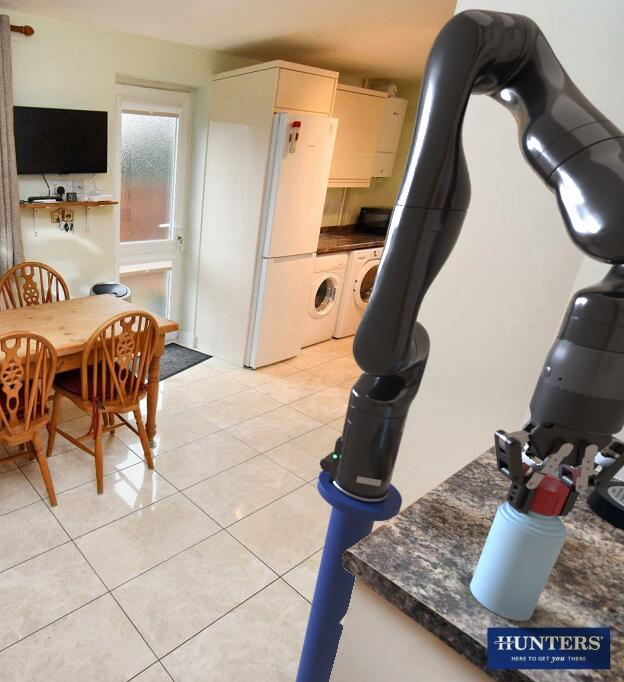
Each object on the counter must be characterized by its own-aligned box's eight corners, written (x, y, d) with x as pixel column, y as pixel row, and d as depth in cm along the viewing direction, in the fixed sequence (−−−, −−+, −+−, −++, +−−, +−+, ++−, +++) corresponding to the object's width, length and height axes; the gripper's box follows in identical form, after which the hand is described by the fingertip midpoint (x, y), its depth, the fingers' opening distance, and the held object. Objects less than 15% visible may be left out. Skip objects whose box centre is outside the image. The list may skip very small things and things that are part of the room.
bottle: (464, 596, 60) (505, 483, 54) (476, 571, 63) (516, 464, 58) (526, 631, 55) (579, 512, 49) (535, 602, 59) (585, 488, 53)
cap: (557, 520, 52) (567, 497, 51) (513, 503, 54) (522, 480, 53) (562, 506, 54) (571, 483, 53) (520, 490, 57) (528, 468, 56)
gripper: (546, 393, 46) (497, 528, 51) (696, 400, 45) (630, 537, 50) (493, 366, 53) (455, 487, 59) (622, 372, 52) (571, 494, 57)
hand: (536, 509), depth 54 cm, fingers closed on cap, 3 cm apart
